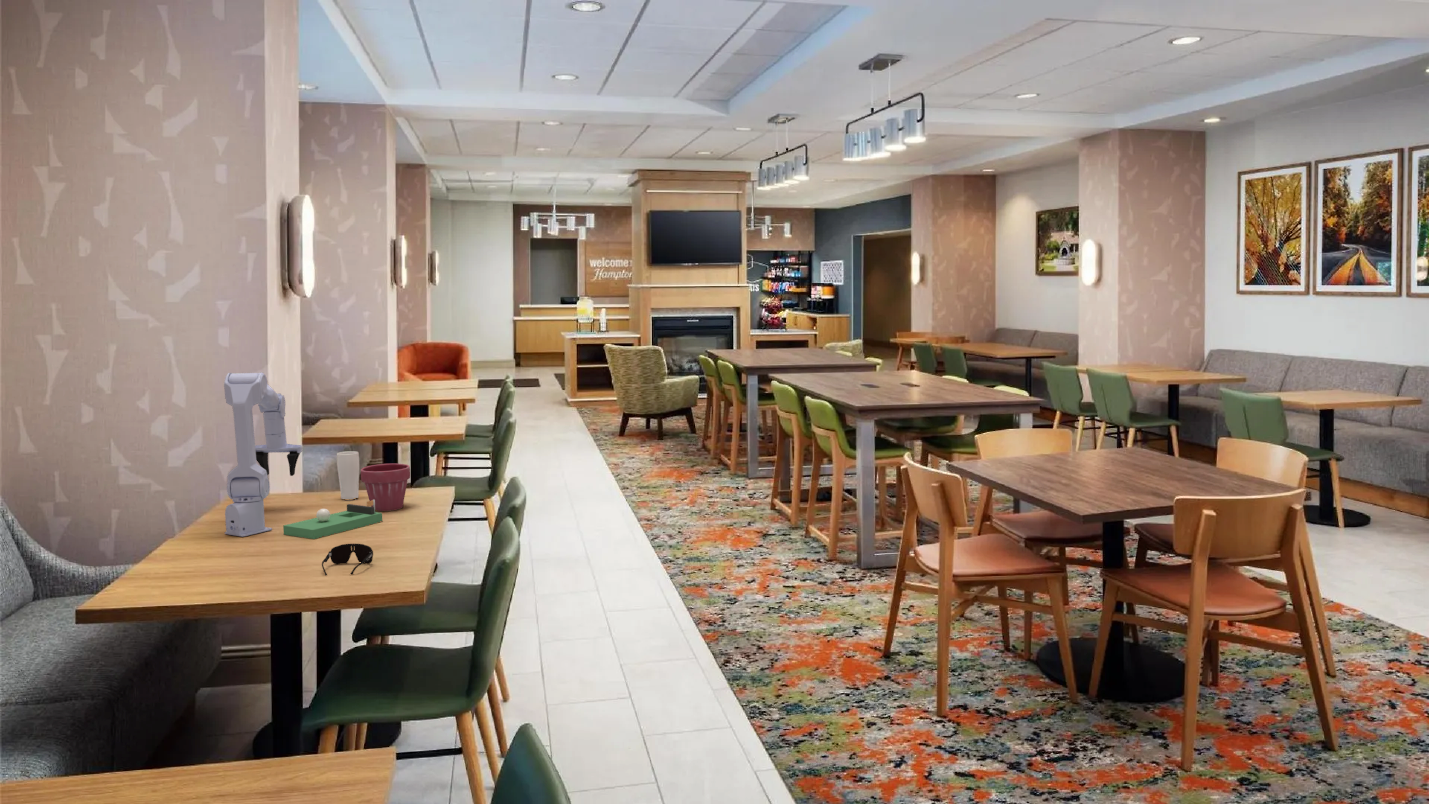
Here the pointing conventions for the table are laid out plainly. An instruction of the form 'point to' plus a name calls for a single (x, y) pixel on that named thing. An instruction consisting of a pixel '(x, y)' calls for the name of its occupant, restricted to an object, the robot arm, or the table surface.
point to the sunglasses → (349, 554)
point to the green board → (335, 522)
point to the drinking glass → (348, 474)
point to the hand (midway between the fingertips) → (279, 475)
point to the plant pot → (386, 485)
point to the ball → (323, 515)
